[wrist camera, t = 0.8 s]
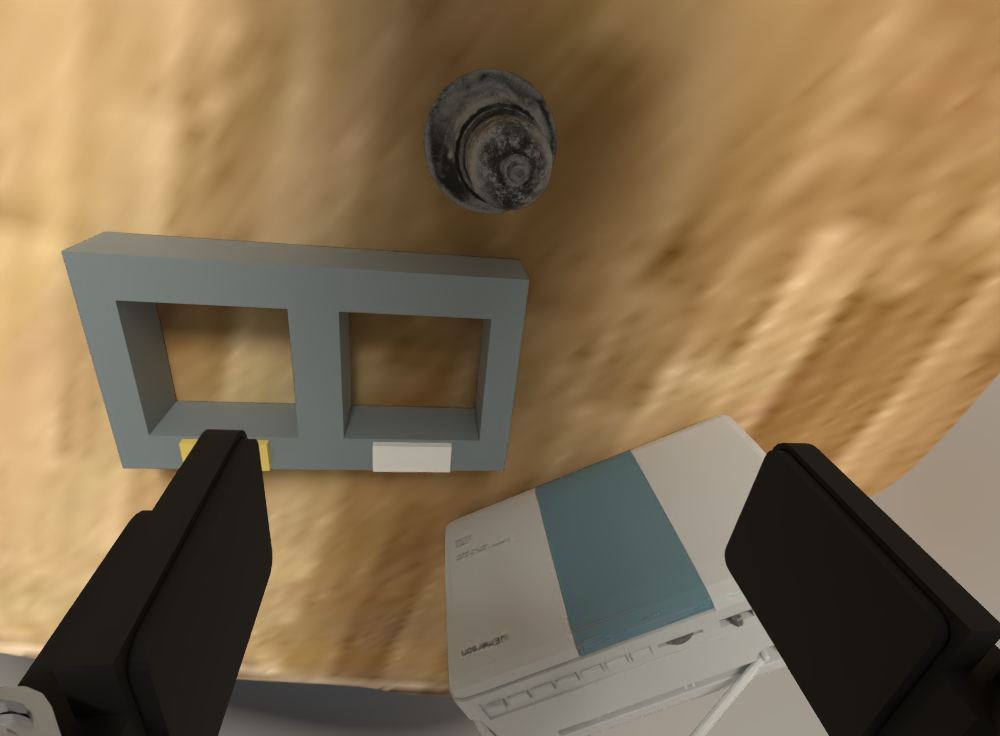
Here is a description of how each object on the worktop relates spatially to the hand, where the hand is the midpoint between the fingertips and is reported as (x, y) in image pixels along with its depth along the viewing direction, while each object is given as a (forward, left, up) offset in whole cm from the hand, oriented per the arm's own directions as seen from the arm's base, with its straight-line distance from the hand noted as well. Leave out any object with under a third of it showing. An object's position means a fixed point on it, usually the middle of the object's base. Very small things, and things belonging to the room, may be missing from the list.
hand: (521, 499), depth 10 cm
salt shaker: (-4, +1, -21) cm, 22 cm away
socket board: (+8, -7, -21) cm, 23 cm away
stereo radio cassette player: (+19, +11, -21) cm, 30 cm away
